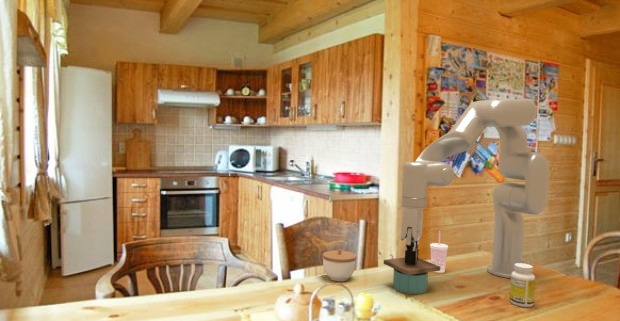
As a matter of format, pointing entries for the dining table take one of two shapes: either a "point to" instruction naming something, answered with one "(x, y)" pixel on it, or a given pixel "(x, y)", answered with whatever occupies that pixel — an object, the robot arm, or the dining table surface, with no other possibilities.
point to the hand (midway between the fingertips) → (411, 261)
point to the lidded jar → (339, 264)
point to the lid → (411, 266)
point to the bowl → (410, 282)
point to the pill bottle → (522, 285)
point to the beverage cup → (439, 255)
